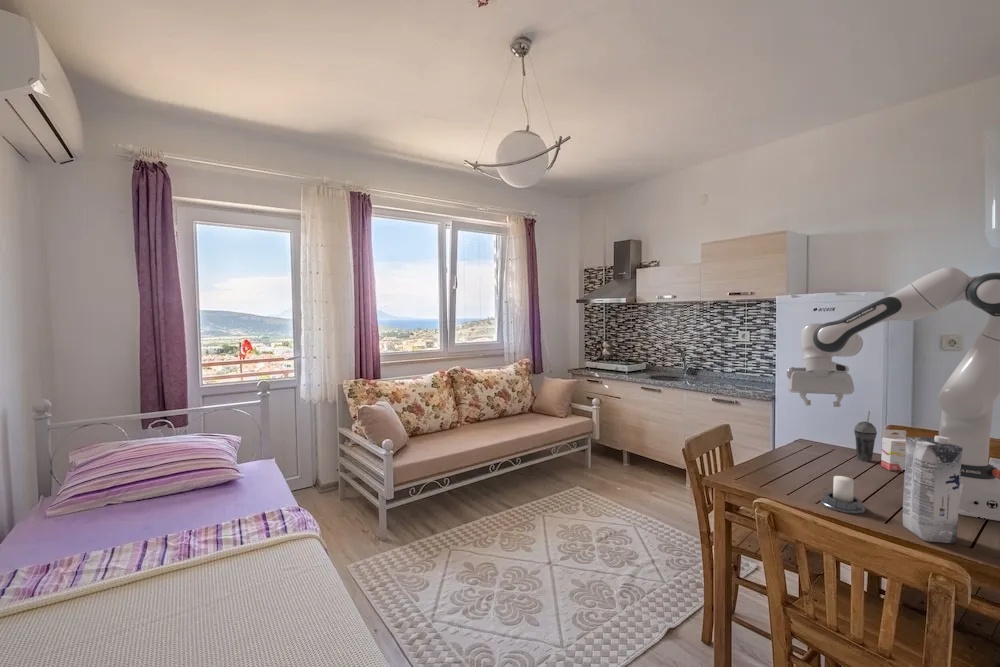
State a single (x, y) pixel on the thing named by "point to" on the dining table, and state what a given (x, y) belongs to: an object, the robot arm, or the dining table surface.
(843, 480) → the plug
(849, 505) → the holder
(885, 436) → the ink cartridge box
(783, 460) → the dining table surface
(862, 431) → the beverage cup
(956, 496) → the juice carton
